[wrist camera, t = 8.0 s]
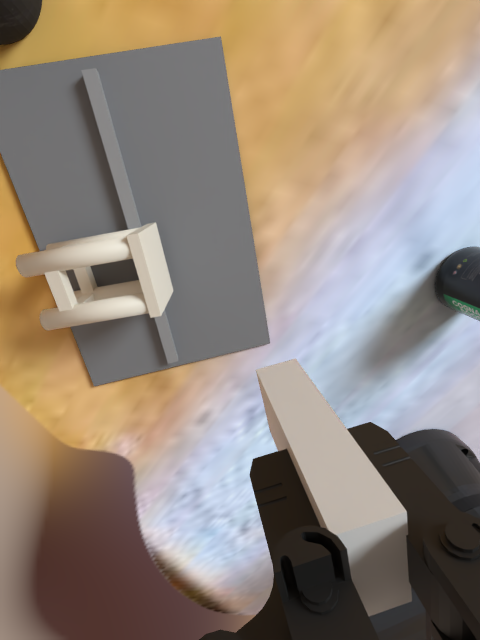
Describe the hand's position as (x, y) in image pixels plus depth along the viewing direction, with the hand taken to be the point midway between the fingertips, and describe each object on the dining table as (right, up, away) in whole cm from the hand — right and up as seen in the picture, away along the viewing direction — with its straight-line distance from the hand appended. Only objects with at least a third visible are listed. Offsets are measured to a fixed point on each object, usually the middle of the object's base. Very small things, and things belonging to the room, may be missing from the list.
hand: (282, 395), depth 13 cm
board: (-10, +10, +18) cm, 22 cm away
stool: (-8, +7, +14) cm, 18 cm away
